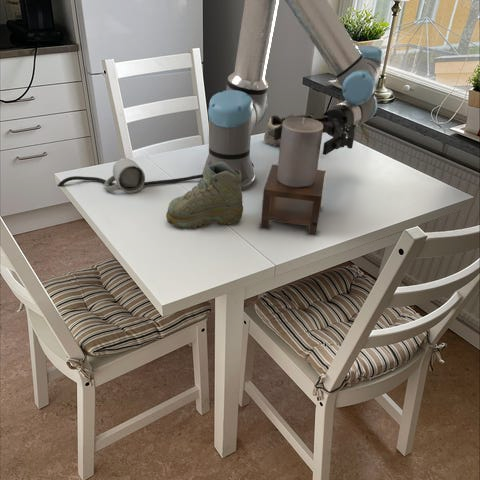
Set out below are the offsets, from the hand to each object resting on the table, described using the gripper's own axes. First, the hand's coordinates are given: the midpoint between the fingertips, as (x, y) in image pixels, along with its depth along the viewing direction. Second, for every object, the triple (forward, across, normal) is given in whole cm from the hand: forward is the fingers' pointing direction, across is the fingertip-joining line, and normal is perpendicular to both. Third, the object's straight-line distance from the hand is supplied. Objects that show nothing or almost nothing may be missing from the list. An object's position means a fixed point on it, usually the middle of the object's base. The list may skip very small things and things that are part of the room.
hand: (299, 141), depth 120 cm
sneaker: (+16, +16, -20) cm, 30 cm away
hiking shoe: (-41, +25, -20) cm, 52 cm away
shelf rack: (0, 0, -20) cm, 20 cm away
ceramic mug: (+16, +45, -20) cm, 52 cm away
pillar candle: (0, 0, -10) cm, 10 cm away
